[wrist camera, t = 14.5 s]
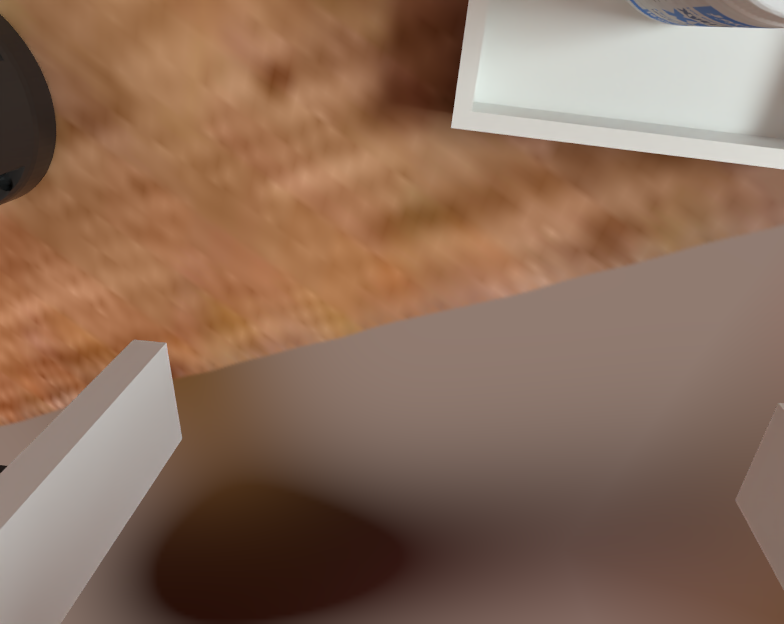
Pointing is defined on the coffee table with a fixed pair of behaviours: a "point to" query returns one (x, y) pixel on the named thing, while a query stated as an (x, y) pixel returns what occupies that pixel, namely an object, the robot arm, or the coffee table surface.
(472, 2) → the white bin
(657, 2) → the supplement tub
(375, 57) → the coffee table surface
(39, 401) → the coffee table surface
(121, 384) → the robot arm
